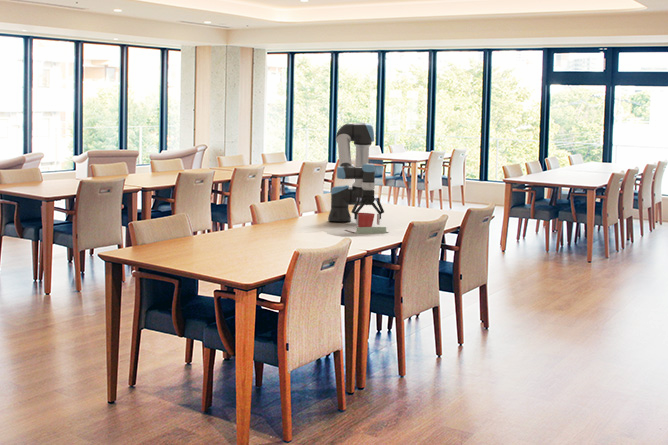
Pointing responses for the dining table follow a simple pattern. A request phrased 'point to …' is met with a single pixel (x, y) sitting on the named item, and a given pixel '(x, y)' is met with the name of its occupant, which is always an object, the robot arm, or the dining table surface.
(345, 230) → the guide strips
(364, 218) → the flower pot
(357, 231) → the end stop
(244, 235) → the dining table surface
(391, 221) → the dining table surface
